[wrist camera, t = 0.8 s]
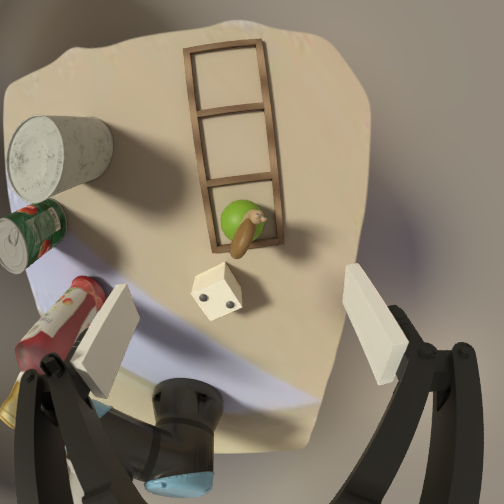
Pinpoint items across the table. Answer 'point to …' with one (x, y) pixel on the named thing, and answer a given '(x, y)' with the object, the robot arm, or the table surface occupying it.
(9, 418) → the liquor
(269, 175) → the wooden ladder frame
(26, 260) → the canned tomato
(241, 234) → the snail figurine
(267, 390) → the table surface
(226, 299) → the die
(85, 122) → the grey cylinder
